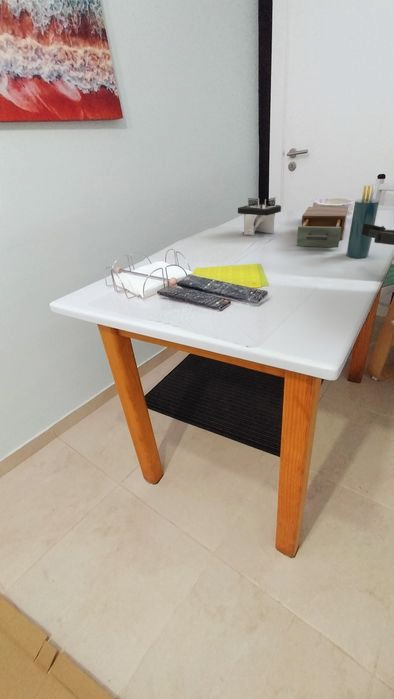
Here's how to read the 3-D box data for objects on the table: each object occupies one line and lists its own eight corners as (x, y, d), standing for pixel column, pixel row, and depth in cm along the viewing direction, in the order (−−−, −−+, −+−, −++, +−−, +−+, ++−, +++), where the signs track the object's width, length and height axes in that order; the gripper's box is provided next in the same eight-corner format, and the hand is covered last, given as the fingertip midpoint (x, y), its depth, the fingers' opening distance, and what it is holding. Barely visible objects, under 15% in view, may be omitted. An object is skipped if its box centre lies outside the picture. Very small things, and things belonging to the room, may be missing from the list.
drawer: (337, 251, 101) (340, 231, 98) (294, 249, 106) (295, 230, 103) (341, 235, 115) (343, 217, 112) (303, 234, 120) (304, 217, 117)
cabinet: (342, 240, 114) (345, 215, 110) (300, 238, 119) (302, 215, 115) (344, 228, 126) (348, 206, 122) (306, 228, 131) (308, 206, 127)
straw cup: (368, 252, 101) (382, 182, 91) (368, 258, 96) (383, 185, 86) (346, 251, 103) (358, 182, 93) (345, 257, 99) (357, 185, 88)
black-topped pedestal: (209, 237, 132) (207, 200, 125) (254, 224, 145) (254, 190, 138) (265, 249, 113) (266, 207, 106) (310, 232, 126) (314, 194, 119)
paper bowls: (351, 225, 129) (354, 203, 125) (309, 225, 134) (311, 204, 130) (351, 217, 141) (354, 196, 136) (312, 217, 146) (315, 197, 141)
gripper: (410, 271, 70) (342, 246, 87) (500, 252, 75) (419, 232, 92) (421, 234, 66) (347, 216, 83) (514, 216, 71) (427, 203, 88)
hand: (385, 225), depth 88 cm, fingers open, 13 cm apart
